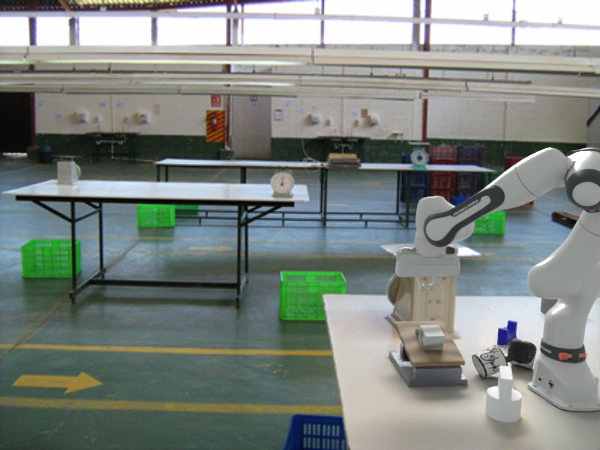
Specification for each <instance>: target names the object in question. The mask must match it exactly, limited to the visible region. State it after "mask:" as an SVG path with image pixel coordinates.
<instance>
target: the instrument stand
mask: <svg viewBox="0 0 600 450" xmlns="http://www.w3.org/2000/svg"><path fill="white" fill-rule="evenodd" d="M399 347H400V349H394V350H391V349H389V352H388V357H389V358H390V360H391V361H392V363H393V364H394V366H395V368H396V369H397V371H398V374H400V377H402V379H403V381H404V382H405V384H406V385H407V387H408V388H429V387H430V388H431V387H435V388H436V387H459V386H460V387H461V386H462V387H463V386H468V380H469V379H468V377H467V376H466V375H465V374H464V373H463V368H462V367H463V366H462V365H459V366H420V367H412V365H411V363H410V361H409V358H408V356H407V354H406V351H405V349H404V346H403V344H402V342H400V345H399Z"/></svg>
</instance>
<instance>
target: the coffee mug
mask: <svg viewBox="0 0 600 450" xmlns="http://www.w3.org/2000/svg"><path fill="white" fill-rule="evenodd" d="M540 301H541V302H540V310H539V311H540V312H541V313H543V314H545V315H546V313H547V312H548V310H550V309H551V308H552V307H553V306H554V305H555V304H556V302H557V301H558V299H545V298H541V300H540Z"/></svg>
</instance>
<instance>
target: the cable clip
mask: <svg viewBox="0 0 600 450" xmlns="http://www.w3.org/2000/svg"><path fill="white" fill-rule="evenodd" d="M517 328H518V321H516V320H511V319H509V320H507V325H506V326H503V327H498V330H497V340H496V341H497V344H496V345H497V346H503V345H505V346H504V347H506V346H507V345H509V344H508V343H509V342H510V341H511V339H516V337H517V330H518V329H517ZM506 344H507V345H506Z"/></svg>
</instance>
